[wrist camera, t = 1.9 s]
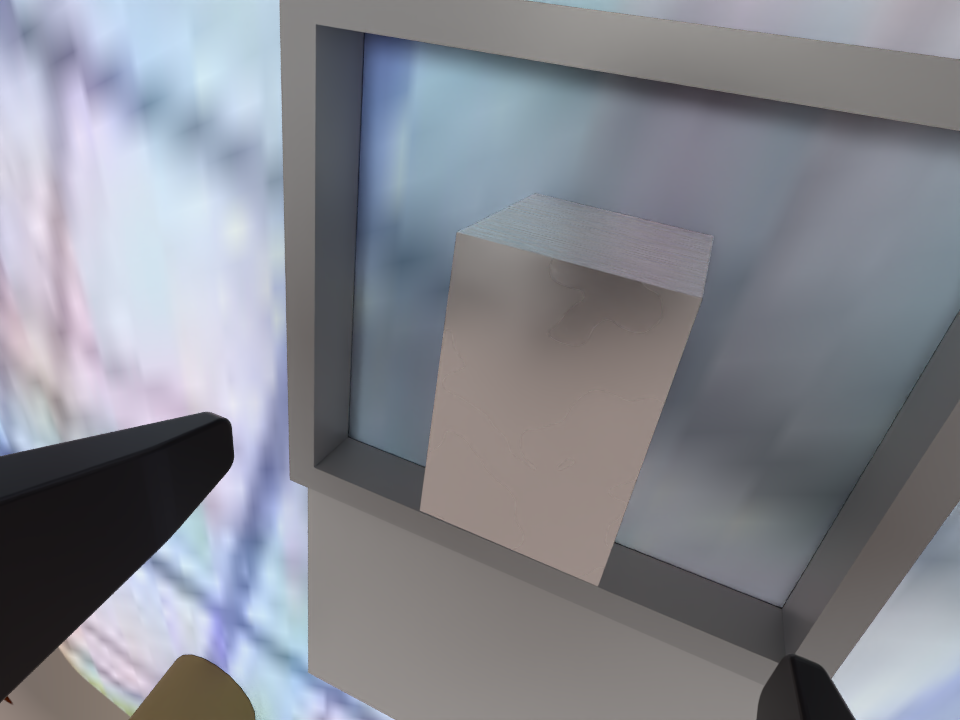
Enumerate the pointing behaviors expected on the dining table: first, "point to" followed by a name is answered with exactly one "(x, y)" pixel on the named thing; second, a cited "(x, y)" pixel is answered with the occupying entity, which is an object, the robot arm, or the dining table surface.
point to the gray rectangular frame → (628, 574)
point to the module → (557, 373)
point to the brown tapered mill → (195, 694)
